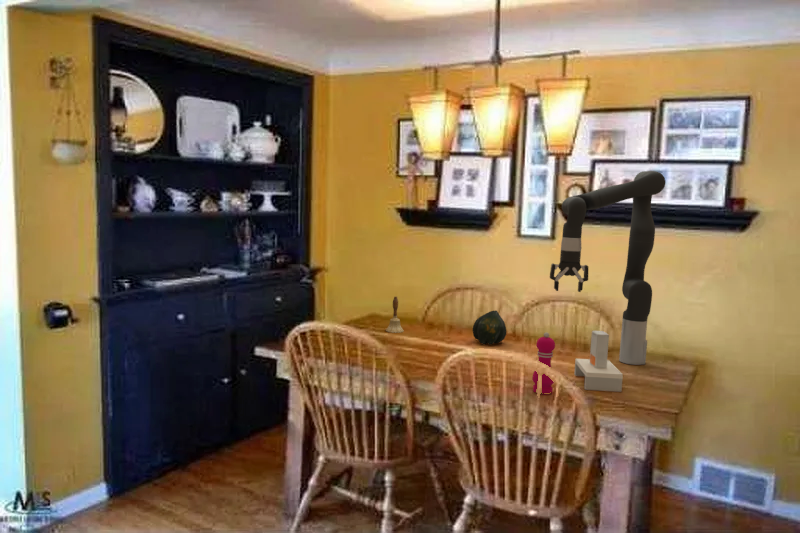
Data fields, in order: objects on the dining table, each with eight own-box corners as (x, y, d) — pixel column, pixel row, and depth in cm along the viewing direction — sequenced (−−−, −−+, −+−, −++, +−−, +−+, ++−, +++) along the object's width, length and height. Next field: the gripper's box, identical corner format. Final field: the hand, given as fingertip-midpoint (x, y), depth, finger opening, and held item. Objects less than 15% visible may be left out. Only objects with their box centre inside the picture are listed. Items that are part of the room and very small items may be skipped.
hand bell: (403, 333, 291) (404, 298, 289) (385, 332, 291) (386, 297, 289) (403, 329, 299) (405, 295, 297) (385, 328, 299) (387, 294, 297)
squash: (463, 331, 273) (488, 307, 270) (469, 326, 288) (493, 303, 284) (487, 356, 271) (512, 332, 268) (491, 349, 286) (516, 326, 282)
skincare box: (588, 363, 227) (591, 330, 226) (600, 363, 228) (603, 330, 226) (594, 368, 221) (597, 334, 220) (606, 368, 222) (609, 334, 220)
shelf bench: (607, 376, 234) (609, 360, 233) (621, 391, 216) (622, 374, 215) (574, 374, 234) (575, 358, 234) (585, 389, 217) (586, 372, 216)
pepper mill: (554, 396, 208) (558, 335, 206) (531, 393, 210) (535, 333, 207) (553, 389, 215) (557, 331, 213) (531, 387, 217) (535, 329, 214)
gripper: (587, 249, 249) (584, 290, 251) (550, 247, 250) (547, 288, 252) (592, 251, 242) (588, 293, 244) (553, 249, 243) (550, 291, 245)
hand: (567, 291), depth 248 cm, fingers open, 8 cm apart
